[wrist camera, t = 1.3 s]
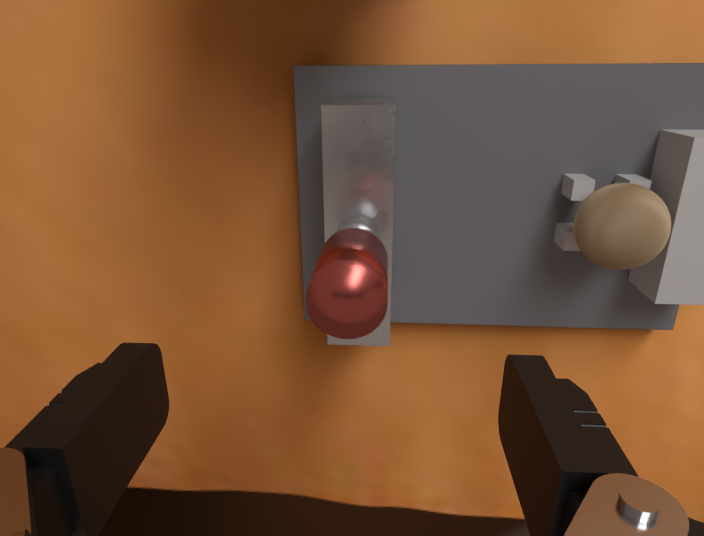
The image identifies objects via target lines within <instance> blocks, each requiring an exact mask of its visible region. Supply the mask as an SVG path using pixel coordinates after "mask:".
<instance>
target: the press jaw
mask: <svg viewBox="0 0 704 536" xmlns="http://www.w3.org/2000/svg"><path fill="white" fill-rule="evenodd" d="M321 121H322V158H323V196H324V233H325V244H324V246H323V248H322V251H321V254H320V256H319V259H318V262H317V264H316V267H315V270H314V272H313V275H312V278H311V281H310V283H309V286H308V289H307V292H306V297H305V303H306V309H307V312H308V315H309V317H310V319H311V320H312V322H313V323H314V324H315V325H316V326H317V327H318V328H319V329H320V330H321V331H323V332H324V333H326V334H327V344H331V345H365V346H390V321H391V282H392V242H393V202H394V163H395V123H396V103H395V98H333V99H331V100H330V101H328V102H326V103H324V104H322V105H321Z"/></svg>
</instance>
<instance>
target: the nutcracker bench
mask: <svg viewBox="0 0 704 536" xmlns="http://www.w3.org/2000/svg"><path fill="white" fill-rule="evenodd" d="M293 71H294V93H295V116H296V138H297V160H298V182H299V204H300V227H301V249H302V271H303V293H304V315H305V320H311V319H310V317H309V315H308V312H307V309H306V303H305V297H306V292H307V289H308V286H309V283H310V281H311V278H312V275H313V272H314V270H315V267H316V264H317V262H318V259H319V256H320V254H321V251H322V248H323V246H324V244H325V233H324V196H323V158H322V121H321V105H322V104H324V103H326V102H328V101H330V100H331V99H333V98H395V103H396V123H395V163H394V202H393V242H392V282H391V321H390V322H396V323H433V324H470V325H507V326H544V327H581V328H618V329H655V330H673V327H674V323H675V319H676V315H677V311H678V307H679V304H685V305H704V63H655V64H498V65H342V66H293ZM615 183H633V184H638V185H641V186H644V187H646V188H648V189H650V190H652V191H653V192H654V193H656V194H657V195H658V196H659V197H660V198H661V199H662V200H663V201H664V203H665V204H666V206H667V208H668V210H669V213H670V217H671V233H670V236H669V239H668V241H667V244H666V245H665V247H664V248H663V250H662V251H661V252H660V253H659V254H658V255H657V256H656V257H655V258H654V259H652V260H651V261H649V262H648V263H646V264H644V265H642V266H639V267H636V268H632V269H626V270H615V269H609V268H605V267H602V266H599V265H597V264H595V263H593V262H592V261H590V260H589V259H588V258H587V257H586V256H584V254H583V253H582V252H581V251H580V249H579V248H578V246H577V244H576V241H575V238H574V234H573V222H574V217H575V214H576V212H577V210H578V208H579V206H580V205H581V203H582V202H583V201H584V200H585V199H586V198H587V197H588V196H589V195H590V194H591V193H593V192H594V191H596V190H598V189H599V188H602V187H604V186H607V185H611V184H615Z"/></svg>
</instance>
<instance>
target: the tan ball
mask: <svg viewBox="0 0 704 536" xmlns="http://www.w3.org/2000/svg"><path fill="white" fill-rule="evenodd" d="M670 233H671V217H670V213H669V210H668V208H667V206H666V204H665V203H664V201H663V200H662V199H661V198H660V197H659V196H658V195H657V194H656V193H654V192H653V191H652V190H650V189H648V188H646V187H644V186H641V185H638V184H633V183H615V184H611V185H607V186H604V187H602V188H599V189H598V190H596V191H594V192H593V193H591V194H590V195H589V196H588V197H587V198H586V199H585V200H584V201H583V202H582V203H581V205H580V206H579V208H578V210H577V212H576V214H575V217H574V222H573V234H574V238H575V241H576V244H577V246H578V248H579V249H580V251H581V252H582V253H583V254H584V256H586V257H587V258H588V259H589V260H590V261H592V262H593V263H595V264H597V265H599V266H602V267H605V268H609V269H615V270H626V269H632V268H636V267H639V266H642V265H644V264H646V263H648V262H649V261H651V260H652V259H654V258H655V257H656V256H657V255H658V254H659V253H660V252H661V251H662V250H663V248H664V247H665V245H666V244H667V241H668V239H669V236H670Z"/></svg>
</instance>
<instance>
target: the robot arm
mask: <svg viewBox="0 0 704 536" xmlns="http://www.w3.org/2000/svg"><path fill="white" fill-rule="evenodd" d="M168 411H169V397H168V391H167V385H166V379H165V373H164V367H163V361H162V354H161V350H160V348H159V346H158V345H157V344H154V343H122V344H120V345H119V346H118V347H117V348H116V349H115V350H114V351H113V352H112V353H111V354H110V355H109V357H108V358H107V359H106V360H105V361H104V362H103V363H97V364H95V365H94V366H92V367H90V368H89V369H87V370H85V371H83V372H82V373H80V374H78V375H77V376H75V377H74V378H73V379H72V380H71V381H70V382H69V383H68V384H67V385H66V386H65V387H64V388H63V389H62V392H61V393H58V394H57V395H56V396H55V397H54V398H53V399H52V400H51V401H50V402H49V406H45V407H44V408H43V409H42V410H41V411H40V412H39V413H38V414H37V415H36V416H35V417H34V418H33V419H32V420H31V421H30V422H29V423H28V424H27V425H26V426H25V427H24V428H23V429H22V430H21V431H20V432H19V433H18V434H17V435H16V436H15V437H14V438H13V439H12V440H11V441H10V442H9V443H8V444H7V445H6V446H5V447H4V448H0V536H97V534H98V533H99V531H100V530H101V528H102V526H103V525H104V523H105V521H106V520H107V518H108V517H109V515H110V513H111V512H112V510H113V508H114V507H115V505H116V504H117V502H118V500H119V499H120V497H121V495H122V494H123V492H124V490H125V489H126V487H127V486H128V484H129V482H130V481H131V479H132V478H133V476H134V474H135V473H136V471H137V469H138V468H139V466H140V465H141V463H142V461H143V460H144V458H145V456H146V455H147V453H148V452H149V450H150V448H151V447H152V445H153V443H154V442H155V440H156V439H157V437H158V435H159V434H160V432H161V430H162V429H163V427H164V425H165V423H166V420H167V416H168ZM498 423H499V434H500V439H501V443H502V446H503V449H504V453H505V456H506V459H507V462H508V466H509V469H510V472H511V475H512V478H513V482H514V485H515V488H516V491H517V495H518V498H519V501H520V504H521V508H522V511H523V514H524V517H525V520H526V524H527V526H528V530H529V533H530V536H704V523H702V522H699V521H696V520H693V519H691V518H688V516H687V514H686V512H685V510H684V509H683V507H682V506H681V505H680V503H679V502H678V501H677V500H676V499H675V498H674V497H673V496H672V495H671V494H669V493H668V492H667V491H665V490H664V489H663V488H661V487H659V486H658V485H656V484H654V483H652V482H650V481H648V480H645V479H643V478H640V477H638V475H637V473H636V472H635V470H634V468H633V467H632V465H631V464H630V462H629V460H628V459H627V457H626V456H625V454H624V452H623V451H622V449H621V447H620V446H619V444H618V443H617V441H616V439H615V438H614V436H613V435H612V433H611V431H610V430H609V428H606V423H605V422H604V420H603V418H602V417H601V415H600V414H598V413H597V409H596V407H595V405H594V404H593V402H592V401H591V399H590V397H589V396H588V394H587V393H586V392H585V391H583V390H582V389H581V388H579V387H578V386H577V385H576V384H574V383H573V382H572V381H571V380H569V379H556V378H555V376H554V374H553V372H552V370H551V368H550V367H549V365H548V363H547V361H546V359H545V358H544V357H543V356H538V355H508V356H507V357H506V361H505V366H504V374H503V382H502V390H501V398H500V406H499V416H498Z"/></svg>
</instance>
